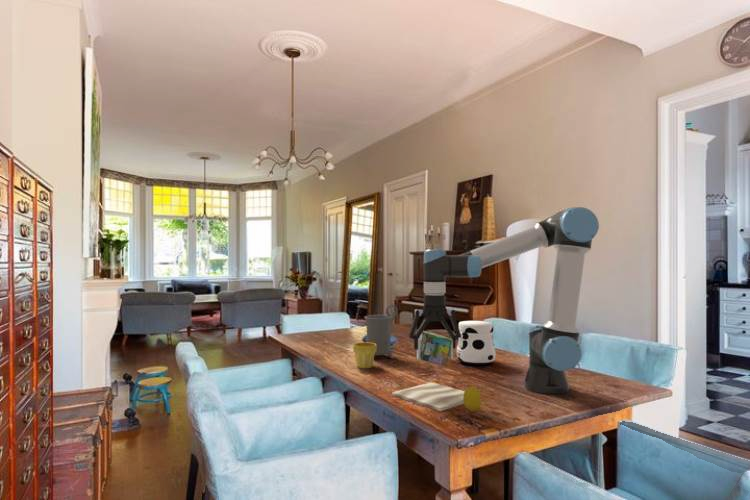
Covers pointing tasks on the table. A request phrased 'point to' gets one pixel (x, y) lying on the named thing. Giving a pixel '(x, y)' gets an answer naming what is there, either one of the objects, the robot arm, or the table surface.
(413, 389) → the ash board
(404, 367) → the table surface
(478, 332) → the milk container
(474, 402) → the lemon
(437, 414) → the table surface
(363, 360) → the plant pot
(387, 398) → the table surface
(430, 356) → the chalk box
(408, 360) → the table surface
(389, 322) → the mug
